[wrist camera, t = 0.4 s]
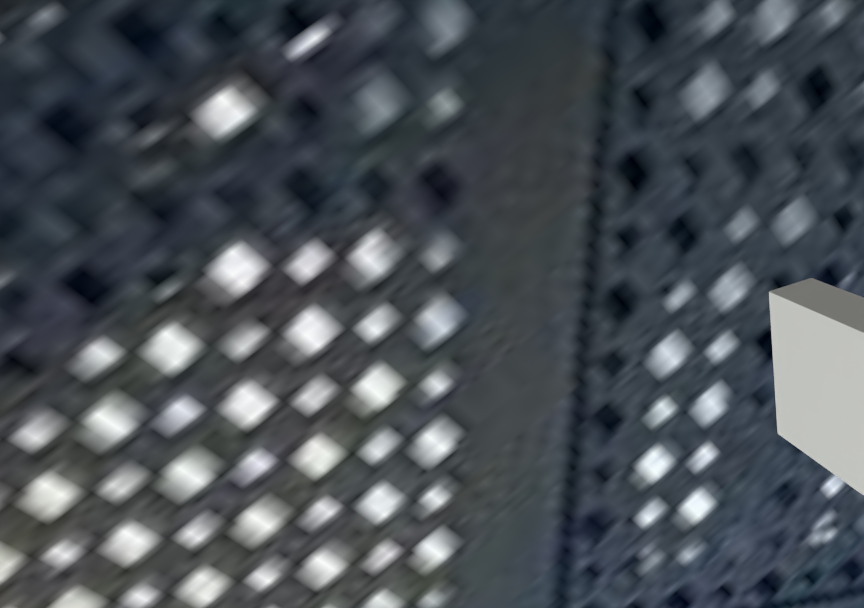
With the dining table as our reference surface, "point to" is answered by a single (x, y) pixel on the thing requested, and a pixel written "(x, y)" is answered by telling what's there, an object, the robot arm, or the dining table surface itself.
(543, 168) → the dining table surface
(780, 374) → the robot arm
